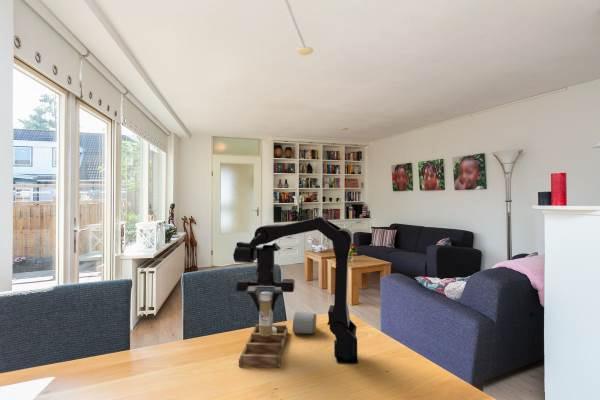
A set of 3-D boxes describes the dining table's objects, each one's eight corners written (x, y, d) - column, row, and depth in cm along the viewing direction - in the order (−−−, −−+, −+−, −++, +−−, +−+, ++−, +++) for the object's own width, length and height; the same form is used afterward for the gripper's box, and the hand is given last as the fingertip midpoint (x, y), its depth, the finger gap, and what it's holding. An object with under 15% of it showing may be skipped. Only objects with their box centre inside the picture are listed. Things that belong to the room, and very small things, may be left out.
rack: (287, 332, 110) (287, 324, 109) (279, 367, 87) (279, 357, 87) (255, 331, 110) (255, 323, 110) (238, 366, 88) (238, 356, 88)
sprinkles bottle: (256, 335, 97) (256, 294, 97) (263, 329, 101) (263, 290, 101) (269, 338, 95) (268, 296, 95) (275, 332, 100) (275, 291, 100)
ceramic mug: (315, 337, 106) (315, 315, 106) (292, 336, 107) (292, 314, 107) (317, 325, 116) (317, 305, 116) (296, 324, 117) (296, 304, 117)
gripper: (295, 258, 106) (296, 302, 106) (243, 258, 107) (244, 302, 107) (293, 266, 95) (293, 315, 95) (235, 265, 96) (235, 314, 96)
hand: (266, 311), depth 98 cm, fingers closed on sprinkles bottle, 4 cm apart
